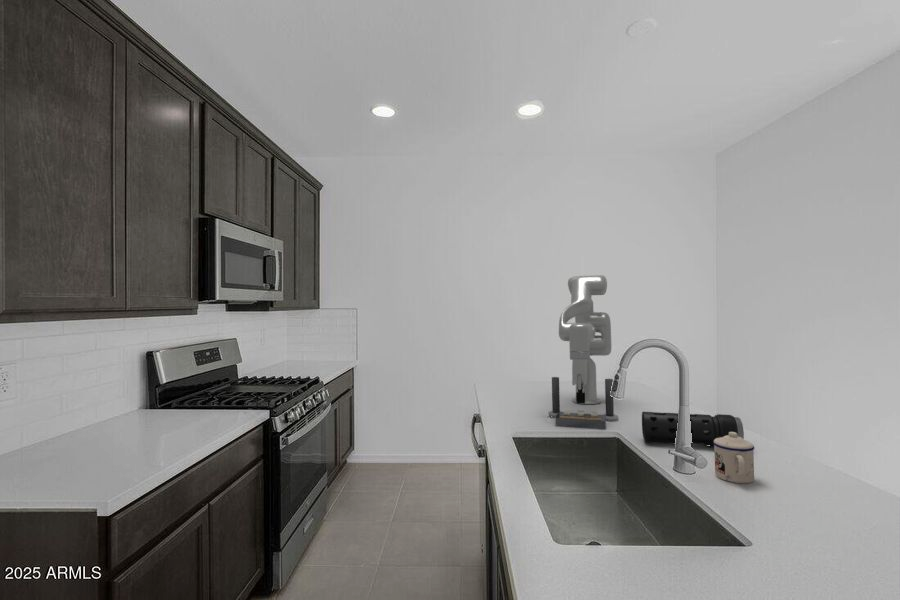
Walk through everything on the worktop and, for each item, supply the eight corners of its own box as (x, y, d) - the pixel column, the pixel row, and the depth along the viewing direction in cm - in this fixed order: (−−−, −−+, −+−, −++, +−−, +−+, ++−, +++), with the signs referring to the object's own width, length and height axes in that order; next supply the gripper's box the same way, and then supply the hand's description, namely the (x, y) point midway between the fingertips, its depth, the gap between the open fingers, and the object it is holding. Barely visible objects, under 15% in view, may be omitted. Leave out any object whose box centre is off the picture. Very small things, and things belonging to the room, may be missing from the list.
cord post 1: (549, 413, 190) (548, 376, 191) (564, 414, 188) (564, 376, 188) (547, 417, 184) (546, 378, 185) (563, 418, 182) (562, 379, 182)
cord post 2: (601, 417, 183) (600, 377, 184) (618, 418, 181) (617, 378, 181) (601, 420, 177) (600, 380, 177) (618, 421, 175) (617, 380, 175)
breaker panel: (558, 419, 180) (558, 407, 180) (605, 422, 174) (605, 409, 174) (555, 426, 171) (555, 412, 171) (605, 429, 165) (605, 415, 165)
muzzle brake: (642, 438, 153) (641, 407, 154) (735, 444, 145) (734, 412, 145) (645, 446, 144) (644, 414, 144) (745, 453, 136) (744, 419, 136)
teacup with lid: (710, 469, 122) (709, 427, 123) (749, 473, 119) (747, 429, 120) (721, 486, 111) (720, 439, 111) (764, 490, 108) (763, 442, 108)
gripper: (571, 353, 183) (572, 398, 183) (568, 357, 169) (569, 406, 169) (590, 354, 181) (591, 399, 180) (588, 357, 167) (590, 407, 166)
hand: (580, 402), depth 175 cm, fingers closed
